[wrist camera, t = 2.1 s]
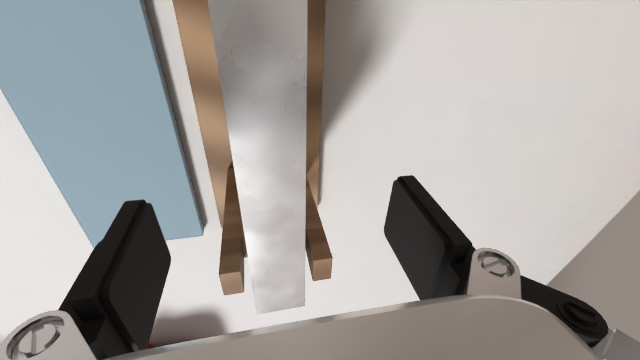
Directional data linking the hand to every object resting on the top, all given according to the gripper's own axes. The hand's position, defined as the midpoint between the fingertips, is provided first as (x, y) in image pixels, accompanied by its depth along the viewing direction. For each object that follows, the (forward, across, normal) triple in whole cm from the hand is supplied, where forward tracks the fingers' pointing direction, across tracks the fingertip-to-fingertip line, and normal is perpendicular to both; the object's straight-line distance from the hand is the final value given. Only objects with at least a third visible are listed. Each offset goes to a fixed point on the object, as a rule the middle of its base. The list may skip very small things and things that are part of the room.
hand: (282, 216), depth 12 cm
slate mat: (+16, +12, -1) cm, 20 cm away
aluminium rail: (+6, 0, -1) cm, 6 cm away
